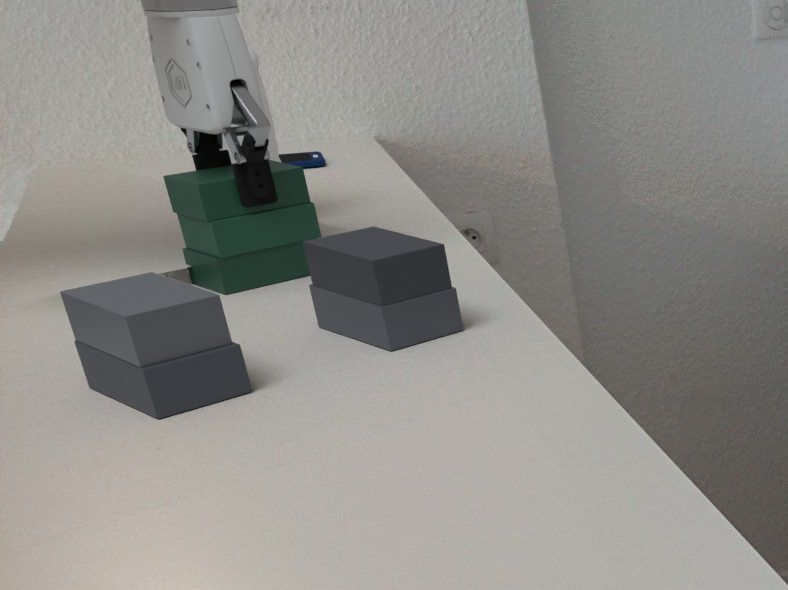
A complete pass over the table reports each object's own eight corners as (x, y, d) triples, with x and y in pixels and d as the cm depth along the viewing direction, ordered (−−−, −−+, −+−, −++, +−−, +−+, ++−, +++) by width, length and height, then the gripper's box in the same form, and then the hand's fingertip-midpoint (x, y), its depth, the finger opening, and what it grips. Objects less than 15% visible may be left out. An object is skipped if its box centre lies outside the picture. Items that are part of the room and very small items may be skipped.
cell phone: (326, 165, 173) (325, 159, 173) (210, 175, 168) (209, 169, 167) (322, 156, 179) (320, 150, 179) (210, 165, 173) (208, 159, 173)
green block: (207, 222, 117) (197, 184, 116) (172, 212, 121) (162, 175, 119) (311, 202, 124) (303, 166, 123) (275, 193, 128) (267, 159, 126)
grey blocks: (158, 419, 93) (126, 318, 89) (89, 387, 98) (57, 291, 95) (464, 330, 111) (448, 243, 107) (390, 307, 117) (373, 224, 113)
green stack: (226, 295, 120) (207, 222, 117) (191, 283, 124) (171, 212, 121) (329, 271, 128) (314, 202, 124) (293, 260, 131) (277, 193, 128)
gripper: (98, -6, 116) (156, 195, 124) (194, 4, 107) (249, 220, 115) (183, -11, 121) (233, 181, 129) (281, -2, 112) (327, 204, 120)
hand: (240, 198), depth 122 cm, fingers closed on green block, 6 cm apart
